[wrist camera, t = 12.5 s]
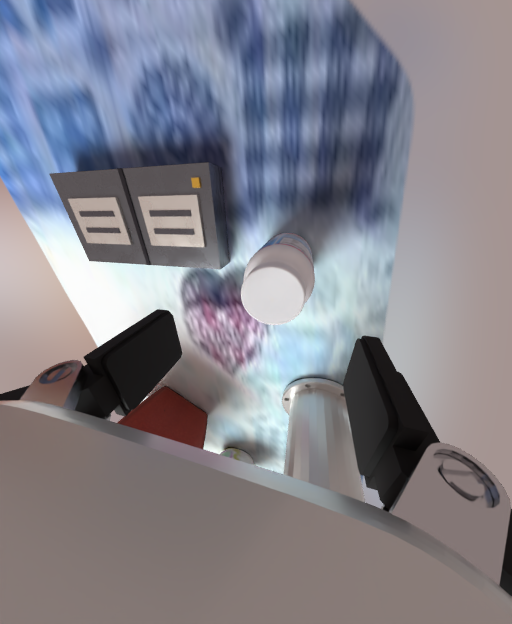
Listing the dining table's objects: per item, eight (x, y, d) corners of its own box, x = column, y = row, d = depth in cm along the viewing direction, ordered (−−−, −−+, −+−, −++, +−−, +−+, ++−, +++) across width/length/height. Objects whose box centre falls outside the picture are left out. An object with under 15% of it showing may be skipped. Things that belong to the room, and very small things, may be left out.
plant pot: (193, 438, 54) (151, 521, 40) (136, 401, 51) (70, 476, 37) (226, 417, 44) (187, 519, 30) (158, 370, 41) (79, 457, 27)
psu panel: (221, 167, 20) (206, 161, 17) (229, 262, 25) (219, 270, 22) (76, 176, 24) (45, 173, 21) (108, 255, 29) (86, 261, 26)
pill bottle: (268, 286, 25) (244, 336, 16) (257, 239, 22) (218, 265, 13) (316, 278, 23) (320, 330, 14) (309, 225, 20) (309, 244, 11)
